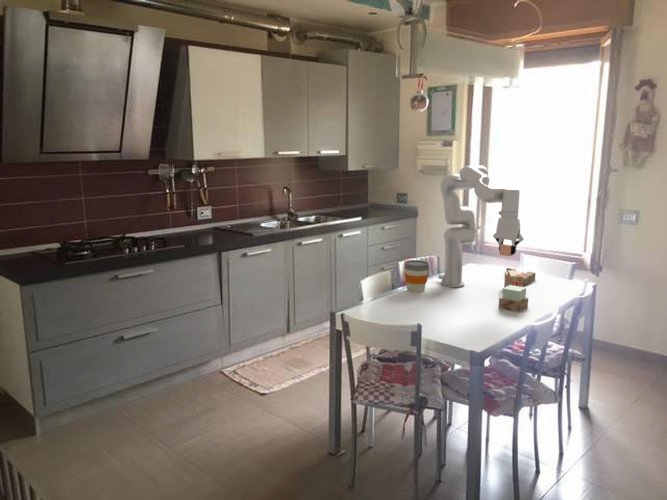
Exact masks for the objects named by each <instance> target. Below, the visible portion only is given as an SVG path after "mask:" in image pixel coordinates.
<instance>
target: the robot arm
mask: <svg viewBox="0 0 667 500" xmlns="http://www.w3.org/2000/svg"><path fill="white" fill-rule="evenodd" d="M489 183H490V178H489V173H488V170H487V168H486V167H485V166H484V165H466V166H463V167H462V168H461V169H460V170H459V173H451V174H447V175H445V176H443V177H442V179H441V182H440V192H441V196H442V199H443V200H442V201H443V208H444V209H443V210H444V220H445V222H446V224H448V225H450V226H451V225H452V226H454V225H455V226H454V227H450V228H447V229H446V230H445V232H444V234H443V239H444V250H445V251H444V268H443V270H444V272H443V274H438V276H437V279H440V280H441V281H440V284H441V286H444V287H448V288H462V287H464V286H465V282H464V281H462V280H463V278H462V277H463V261H464V252H463V249H462V247H461V246H462V245H469V244H473V243H474V242H475V241H476V238H477V230H476V219H475V213H474V210H473V209H472V208H471V207H469V206H462V205H461V201H460V197H459V195H458V193H457V192H456V191H463V190H465V191H466V190H472V189H473V191H474V194H475V195H476V197H477V199H480V200H481V201H483V202H485V203H487V204H492V203H493V204H494V203H500V204H501V210H500V211H498V215H499V217H498V220H497V225H496V230H495V233H494V234H493V236H492V237H493V238H494V239H495V241H496V242H497V243H498V251H499V254H500V244H503V243H505V242H504V241H505V240H507V241H511V244H512V246H511V255H512V256H514V255H515V254H516V253H517V246H518V245H519V244H520V243H522V242H523V241H524V237H523V236H522V234H521V221H520V218H519V209H520V208H519V207H520V192H521V191H520V189H519V188H516V187H508V186H489ZM457 225H458V226H457ZM459 225H460V226H459ZM513 254H514V255H513Z"/></svg>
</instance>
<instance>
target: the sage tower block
mask: <svg viewBox="0 0 667 500" xmlns="http://www.w3.org/2000/svg"><path fill="white" fill-rule="evenodd" d="M526 294H527V287H525V286H523V287H518V286H513V285H509V286H507V287H505V288H504V287H503V288H502V296H501V297H502V299H507V300H512V301H517V302H520V301H521V300H523V299H525V297H526ZM526 298H527V297H526Z"/></svg>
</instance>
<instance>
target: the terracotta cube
mask: <svg viewBox="0 0 667 500" xmlns="http://www.w3.org/2000/svg"><path fill="white" fill-rule="evenodd" d="M511 246H512V243H508V242H503V244H500V253H499V256H506V257H511V256H512V257H513V256H515V254H513V255H511Z"/></svg>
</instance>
